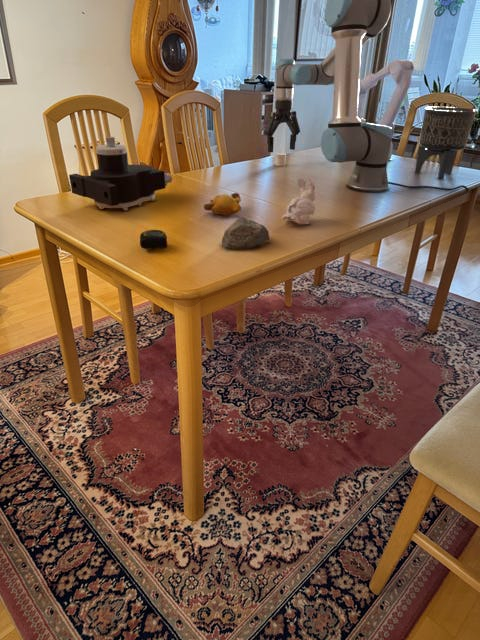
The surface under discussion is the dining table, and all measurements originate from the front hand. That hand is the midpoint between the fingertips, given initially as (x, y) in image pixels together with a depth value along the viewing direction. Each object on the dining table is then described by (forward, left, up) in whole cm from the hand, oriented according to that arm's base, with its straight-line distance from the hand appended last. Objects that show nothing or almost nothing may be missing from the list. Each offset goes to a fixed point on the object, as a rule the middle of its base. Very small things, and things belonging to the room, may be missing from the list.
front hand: (281, 150), depth 208 cm
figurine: (-5, +85, -6) cm, 85 cm away
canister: (0, 0, -6) cm, 6 cm away
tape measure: (+33, +111, -6) cm, 116 cm away
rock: (+9, +105, -6) cm, 106 cm away
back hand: (-37, -37, +2) cm, 52 cm away
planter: (-68, +10, -6) cm, 69 cm away
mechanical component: (+51, +70, -6) cm, 87 cm away
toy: (+18, +77, -6) cm, 79 cm away
